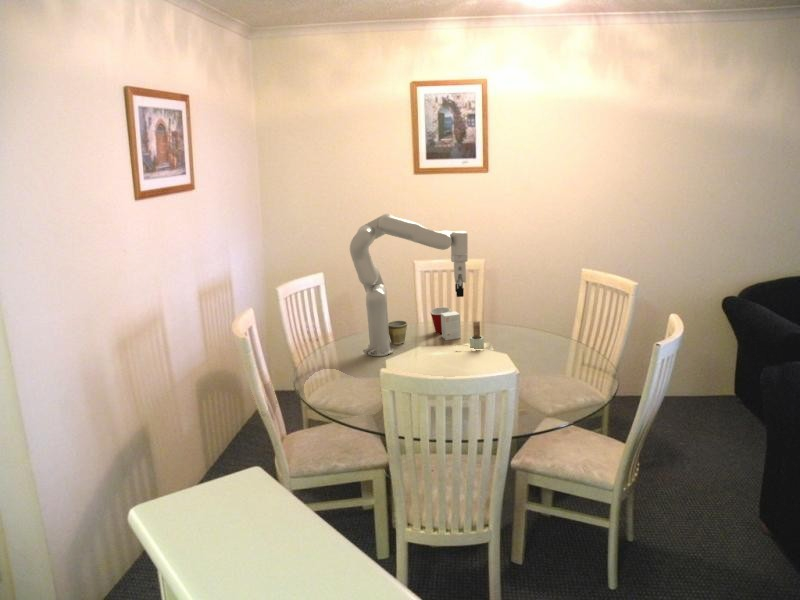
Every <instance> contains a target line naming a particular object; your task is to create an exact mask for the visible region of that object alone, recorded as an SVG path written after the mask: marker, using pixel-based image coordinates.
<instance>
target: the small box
mask: <svg viewBox="0 0 800 600" xmlns="http://www.w3.org/2000/svg"><path fill="white" fill-rule="evenodd" d="M441 327H442V334H441V337H442V338H443V339H444V340H445V341H449V340H457V339H461V338H462V335H461V333H462V332H461V315H460V313H459V312H458V311H456V310H455V311H450V312H447V313H441Z"/></svg>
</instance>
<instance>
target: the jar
mask: <svg viewBox="0 0 800 600" xmlns="http://www.w3.org/2000/svg"><path fill="white" fill-rule="evenodd" d="M469 343H470V348H474V349H483V348H484V343H485V336H483V335H480V339H474V335H471V336H469Z"/></svg>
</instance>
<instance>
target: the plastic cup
mask: <svg viewBox="0 0 800 600" xmlns="http://www.w3.org/2000/svg"><path fill="white" fill-rule="evenodd" d="M447 312H451V307H450V308H449V307H445V306H444V307H443V306H442V307H441V306H440V307H434V308H432V309H430V310H429V313H430V315H431V318H432V319H431V320H432V324H433V327H434V332H435V333H436V332H438V333H442V327H441V313H447ZM438 333H437V334H438Z"/></svg>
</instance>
